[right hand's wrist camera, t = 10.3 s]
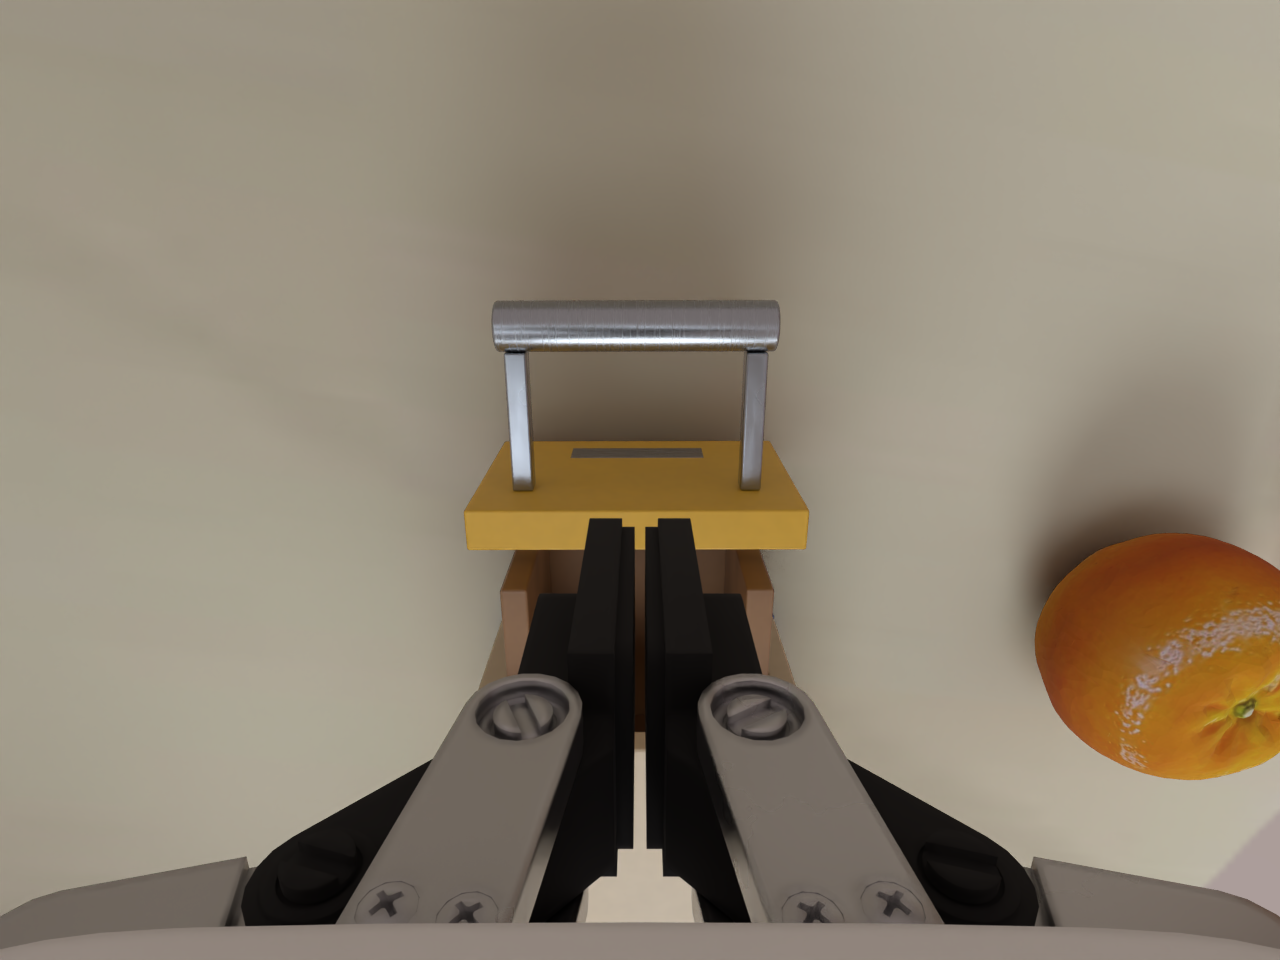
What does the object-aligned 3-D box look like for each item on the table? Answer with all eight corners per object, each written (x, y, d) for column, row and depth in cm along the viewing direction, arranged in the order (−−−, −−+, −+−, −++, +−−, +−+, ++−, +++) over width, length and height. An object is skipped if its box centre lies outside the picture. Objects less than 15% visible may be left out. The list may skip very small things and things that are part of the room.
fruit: (1214, 801, 28) (1372, 859, 20) (983, 713, 30) (1046, 734, 22) (1266, 593, 29) (1434, 572, 21) (1040, 523, 31) (1118, 482, 24)
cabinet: (505, 606, 29) (456, 750, 21) (770, 605, 29) (818, 749, 21) (523, 850, 34) (488, 1043, 26) (753, 849, 34) (788, 1042, 26)
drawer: (494, 284, 24) (444, 308, 18) (779, 283, 24) (827, 308, 18) (523, 712, 30) (493, 840, 24) (753, 712, 30) (781, 839, 24)
